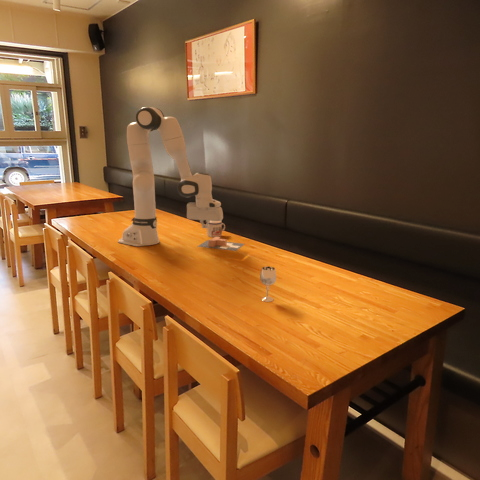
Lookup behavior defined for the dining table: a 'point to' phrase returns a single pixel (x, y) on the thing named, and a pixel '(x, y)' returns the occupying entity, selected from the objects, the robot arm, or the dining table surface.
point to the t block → (217, 242)
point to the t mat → (228, 247)
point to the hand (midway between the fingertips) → (205, 227)
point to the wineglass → (268, 280)
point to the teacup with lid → (215, 229)
